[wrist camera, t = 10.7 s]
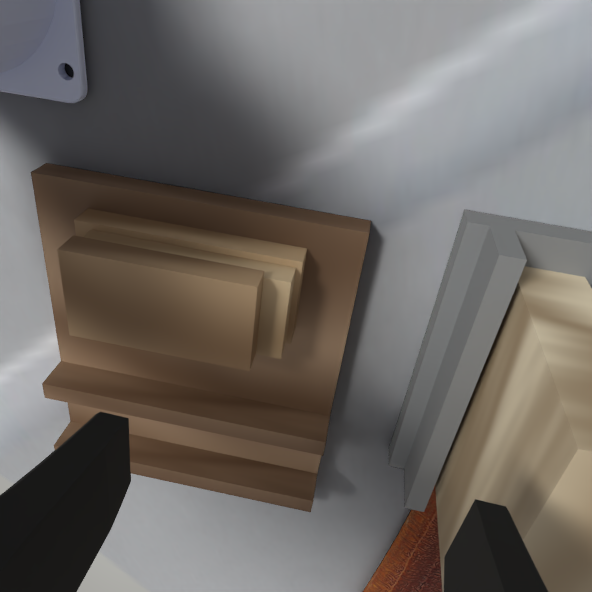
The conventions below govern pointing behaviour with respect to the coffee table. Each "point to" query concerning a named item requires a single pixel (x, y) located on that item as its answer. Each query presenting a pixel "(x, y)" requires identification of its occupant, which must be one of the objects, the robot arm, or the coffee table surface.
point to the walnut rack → (200, 375)
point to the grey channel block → (471, 332)
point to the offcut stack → (180, 289)
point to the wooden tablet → (412, 556)
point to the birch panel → (532, 431)
